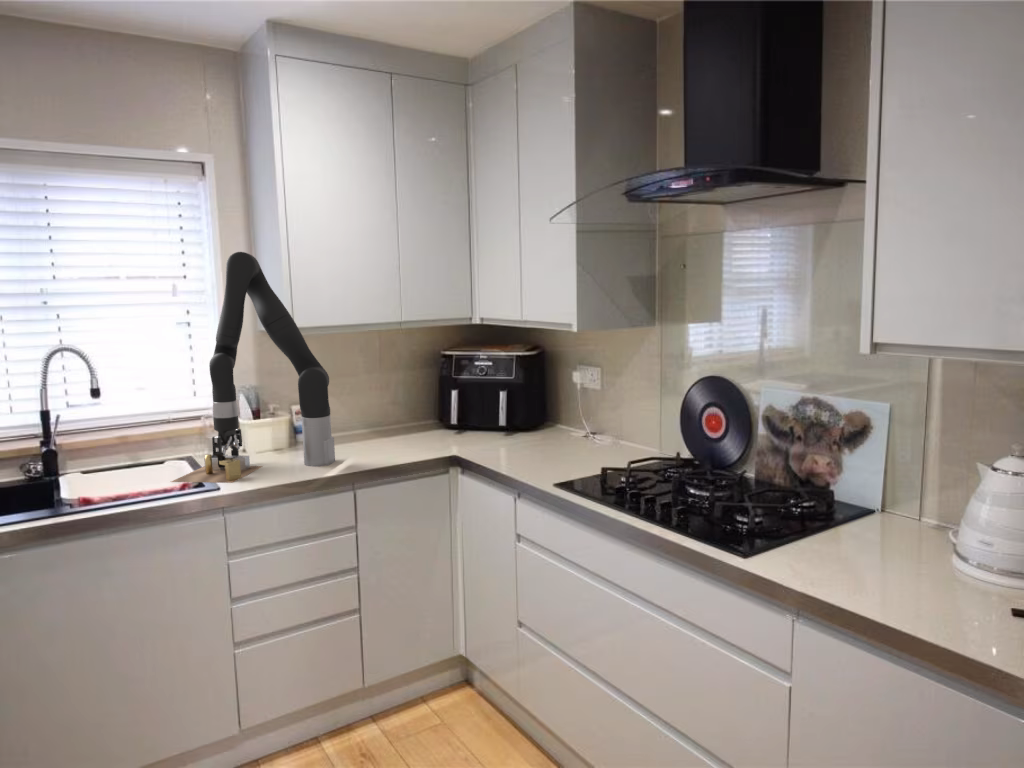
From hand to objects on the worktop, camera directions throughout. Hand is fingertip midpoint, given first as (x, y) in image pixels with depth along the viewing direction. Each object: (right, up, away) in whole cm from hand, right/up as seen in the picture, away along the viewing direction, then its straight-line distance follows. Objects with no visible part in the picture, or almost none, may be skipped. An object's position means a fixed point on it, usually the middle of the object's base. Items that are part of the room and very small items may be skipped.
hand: (229, 464), depth 234 cm
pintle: (-4, -2, -6) cm, 7 cm away
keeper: (+5, -3, -12) cm, 14 cm away
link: (0, -1, 0) cm, 1 cm away
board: (-1, -4, -6) cm, 7 cm away
